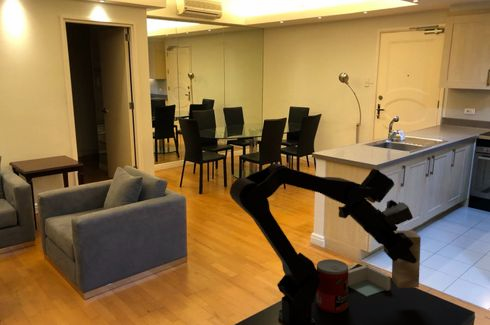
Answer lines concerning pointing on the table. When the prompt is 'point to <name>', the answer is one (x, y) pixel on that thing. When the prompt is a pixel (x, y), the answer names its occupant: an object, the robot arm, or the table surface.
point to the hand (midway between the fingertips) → (411, 257)
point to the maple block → (408, 264)
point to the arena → (368, 280)
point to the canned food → (332, 285)
